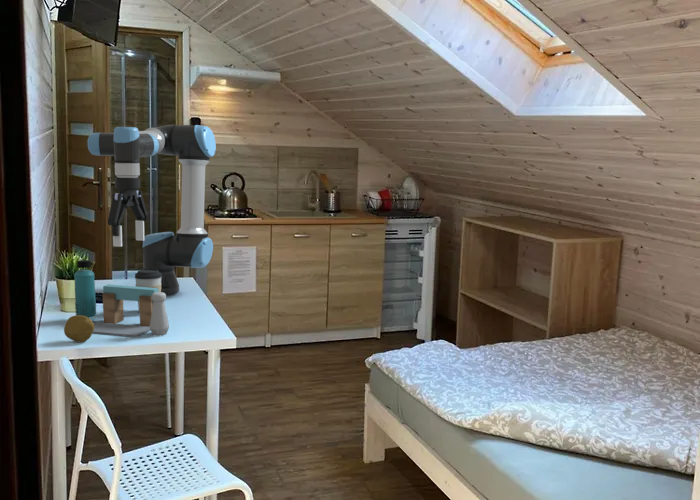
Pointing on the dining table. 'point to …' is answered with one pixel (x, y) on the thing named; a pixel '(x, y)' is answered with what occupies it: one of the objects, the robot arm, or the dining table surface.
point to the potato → (79, 328)
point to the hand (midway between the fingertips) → (129, 243)
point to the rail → (129, 291)
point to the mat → (120, 329)
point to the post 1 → (112, 309)
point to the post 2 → (145, 310)
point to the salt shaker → (159, 315)
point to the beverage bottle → (85, 290)
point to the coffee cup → (148, 279)
